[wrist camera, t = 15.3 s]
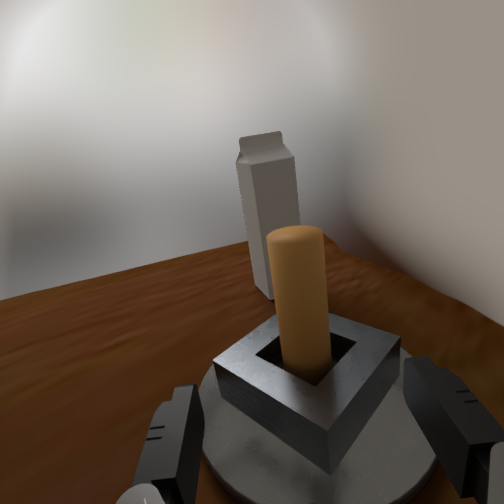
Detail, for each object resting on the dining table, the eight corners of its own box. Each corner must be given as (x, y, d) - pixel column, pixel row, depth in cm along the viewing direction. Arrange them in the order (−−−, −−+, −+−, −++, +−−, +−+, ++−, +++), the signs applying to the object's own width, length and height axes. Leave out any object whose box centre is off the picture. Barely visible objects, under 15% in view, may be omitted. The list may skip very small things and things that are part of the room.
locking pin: (277, 390, 28) (254, 239, 23) (304, 364, 31) (289, 223, 26) (316, 413, 25) (300, 247, 20) (342, 382, 28) (333, 228, 23)
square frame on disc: (154, 418, 29) (138, 369, 27) (290, 313, 42) (286, 275, 40) (364, 631, 15) (362, 565, 13) (473, 379, 28) (480, 326, 26)
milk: (254, 285, 51) (230, 138, 43) (289, 274, 53) (271, 131, 45) (270, 301, 45) (245, 137, 38) (308, 289, 47) (291, 129, 39)
